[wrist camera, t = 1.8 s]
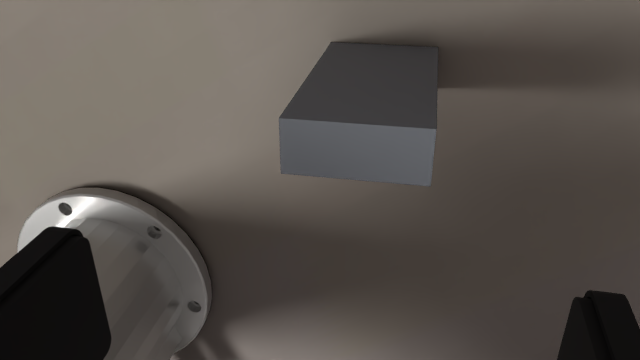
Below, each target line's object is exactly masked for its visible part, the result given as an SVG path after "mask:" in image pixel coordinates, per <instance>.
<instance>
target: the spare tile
mask: <svg viewBox="0 0 640 360" xmlns="http://www.w3.org/2000/svg"><path fill="white" fill-rule="evenodd" d="M437 82H438V47H423V46H402V45H381V44H360V43H339V42H331V43H330V45H329V46H328V48H327V49H326V51H325V52H324V53H323V55H322V56H321V58H320V59H319V61H318V62H317V64H316V65H315V66H314V68H313V69H312V71H311V72H310V74H309V75H308V77H307V78H306V80H305V81H304V82H303V84H302V85H301V87H300V88H299V90H298V91H297V93H296V94H295V95H294V97H293V98H292V100H291V101H290V103H289V104H288V106H287V107H286V109H285V110H284V111H283V113H282V114H281V116H280V117H279V136H280V164H281V174H293V175H304V176H316V177H327V178H339V179H350V180H362V181H373V182H385V183H396V184H408V185H419V186H431V178H432V168H433V158H434V148H435V139H436V128H437Z"/></svg>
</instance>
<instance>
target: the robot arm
mask: <svg viewBox="0 0 640 360" xmlns="http://www.w3.org/2000/svg"><path fill="white" fill-rule="evenodd" d="M211 301H212V288H211V280H210V276H209V273H208V270H207V266H206V264H205V262H204V260H203V258H202V256H201V254H200V252H199V250H198V249H197V247H196V246H195V245H194V243H193V242H192V241H191V239H190V238H189V237H188V235H187V234H186V233H185V232H184V231H183V230H182V229H181V228H180V227H179V226H178V225H177V224H176V223H175V222H174V221H173V220H172V219H171V218H169V217H168V216H166V215H165V214H164V213H162V212H161V211H160V210H158V209H157V208H155V207H154V206H152V205H150V204H148V203H146V202H144V201H142V200H140V199H138V198H136V197H133V196H131V195H128V194H125V193H122V192H119V191H115V190H109V189H103V188H77V189H72V190H67V191H63V192H61V193H59V194H57V195H55V196H53V197H51V198H49V199H48V200H46V201H45V202H44V203H43V204H41V205H40V206H39V207H37V208H36V209H35V210H34V211H33V212H32V213H31V214H30V216H29V217H28V218H27V219H26V220H25V222H24V224H23V226H22V229H21V231H20V233H19V239H18V244H17V254H16V255H15V256H13V257H12V258H11V259H10V260H9V261H8V262H7V263H5V264H4V265H3V266H2V267H1V268H0V360H170V358H171V357H172V355H173V354H174V353H176V352H177V351H179V350H181V349H183V348H185V347H186V346H187V345H188V344H189V343H190V342H191V341H193V340H194V339H195V338H196V336H197V335H198V333H199V331H200V330H201V328H202V327H203V325H204V323H205V321H206V319H207V316H208V314H209V312H210V307H211ZM557 360H640V329H639V326H638V324H637V321H636V319H635V317H634V314H633V312H632V309H631V307H630V304H629V302H628V300H627V298H626V296H625V295H623V294H617V293H609V292H600V291H592V290H589V291H587V292H586V294H585V296H584V298H580V297H575V298H574V299H573V302H572V305H571V309H570V313H569V317H568V320H567V324H566V328H565V332H564V335H563V339H562V343H561V347H560V350H559V354H558V358H557Z"/></svg>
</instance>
